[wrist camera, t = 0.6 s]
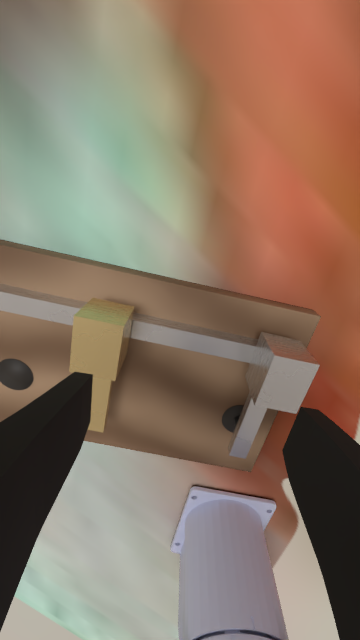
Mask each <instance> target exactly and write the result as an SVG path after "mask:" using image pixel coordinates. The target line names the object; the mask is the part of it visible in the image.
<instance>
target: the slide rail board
mask: <svg viewBox="0 0 360 640" xmlns="http://www.w3.org/2000/svg"><path fill="white" fill-rule="evenodd" d="M0 283H1V284H5V285H10V286H14V287H19V288H24V289H28V290H33V291H38V292H42V293H47V294H51V295H56V296H61V297H65V298H70V299H74V300H79V301H84V302H89V301H90V300H91V299H92V298H97V299H102V300H106V301H111V302H115V303H120V304H125V305H129V306H134V312H135V313H139V314H144V315H148V316H153V317H158V318H162V319H167V320H171V321H176V322H181V323H185V324H190V325H195V326H199V327H204V328H208V329H213V330H218V331H222V332H227V333H232V334H236V335H241V336H245V337H250V338H255V339H259V337H260V334H261V332H263V333H268V334H273V335H277V336H282V337H286V338H291V339H295V340H300V341H301V343H302V344H303V345H304V346H305V348H307V346H308V344H309V342H310V340H311V337H312V335H313V333H314V331H315V328H316V326H317V324H318V322H319V320H320V317H321V316H320V315H318V314H317V313H316V312H315V311H314V310H311V309H307V308H302V307H298V306H293V305H289V304H285V303H280V302H276V301H271V300H267V299H262V298H258V297H253V296H249V295H245V294H240V293H236V292H231V291H227V290H222V289H218V288H213V287H209V286H205V285H200V284H196V283H191V282H187V281H182V280H178V279H173V278H169V277H165V276H160V275H156V274H151V273H147V272H142V271H138V270H134V269H129V268H125V267H120V266H116V265H111V264H107V263H102V262H98V261H94V260H89V259H85V258H80V257H76V256H71V255H67V254H62V253H58V252H54V251H49V250H45V249H40V248H36V247H31V246H27V245H22V244H18V243H14V242H9V241H5V240H0ZM72 330H73V326H72V325H67V324H62V323H57V322H53V321H48V320H43V319H39V318H34V317H29V316H24V315H20V314H15V313H10V312H5V311H1V310H0V422H1V421H3V420H4V419H6V418H8V417H9V416H11V415H12V414H14V413H16V412H17V411H19V410H20V409H22V408H23V407H25V406H26V405H28V404H29V403H31V402H32V401H33V400H35V399H36V398H38V397H39V396H41V395H42V394H44V393H45V392H47V391H48V390H49V389H51V388H52V387H54V386H55V385H56V384H58V383H59V382H61V381H62V380H63V379H65V378H66V377H68V376H69V375H71V374H72V373H71V372H69V368H70V356H71V343H72ZM249 364H250V363H247V362H242V361H237V360H233V359H228V358H223V357H218V356H214V355H209V354H204V353H200V352H195V351H190V350H185V349H181V348H176V347H171V346H166V345H162V344H157V343H152V342H147V341H143V340H138V339H133V338H129V343H128V349H127V355H126V357H125V359H124V362H123V364H122V367H121V369H120V371H119V374H118V376H117V378H116V381H113V384H112V390H111V397H110V403H109V410H108V416H107V423H106V427H105V429H104V432H103V433H102V432H97V431H92V430H87V432H86V435H85V438H84V441H89V442H94V443H99V444H105V445H110V446H115V447H121V448H126V449H131V450H136V451H142V452H147V453H152V454H158V455H163V456H168V457H174V458H179V459H184V460H189V461H195V462H200V463H205V464H211V465H216V466H221V467H227V468H232V469H237V470H242V471H248V472H251V470H252V468H253V466H254V464H255V461H256V459H257V457H258V455H259V453H260V450H261V448H262V446H263V444H264V442H265V439H266V437H267V435H268V433H269V430H270V428H271V426H272V424H273V422H274V419H275V417H276V415H277V413H278V410H275V409H270V408H267V410H266V413H265V415H264V417H263V420H262V422H261V424H260V427H259V429H258V431H257V434H256V436H255V438H254V441H253V443H252V445H251V447H250V450H249V452H248V454H247V457H246V459H244V458H239V457H234V456H229V452H228V446H229V443H230V440H231V438H232V435H233V433H234V430H235V422H234V418H235V417H236V416H240V415H241V412H242V409H243V407H244V404H245V402H246V399H247V397H248V394H249V391H250V390H249V387H248V384H247V381H246V378H245V375H246V372H247V369H248V367H249Z"/></svg>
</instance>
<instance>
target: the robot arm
mask: <svg viewBox="0 0 360 640" xmlns="http://www.w3.org/2000/svg"><path fill="white" fill-rule="evenodd" d="M92 383H93V374H87V373H81V372H74V373H72V374H71V375H69V376H68V377H66V378H65V379H63V380H62V381H61V382H59V383H58V384H56V385H55V386H54V387H52V388H51V389H49V390H48V391H47V392H45V393H44V394H42V395H41V396H39V397H38V398H36V399H35V400H33V401H32V402H31V403H29V404H28V405H26V406H25V407H23V408H22V409H20V410H19V411H17V412H16V413H14V414H12V415H11V416H9V417H8V418H6V419H4V420H3V421H1V422H0V631H1V628H2V626H3V623H4V620H5V618H6V615H7V613H8V610H9V608H10V605H11V602H12V600H13V597H14V595H15V592H16V589H17V587H18V584H19V582H20V579H21V577H22V574H23V572H24V569H25V567H26V564H27V562H28V559H29V557H30V554H31V552H32V549H33V547H34V544H35V542H36V539H37V537H38V535H39V533H40V531H41V528H42V526H43V524H44V522H45V520H46V518H47V516H48V514H49V512H50V510H51V508H52V506H53V504H54V502H55V500H56V498H57V496H58V494H59V492H60V490H61V488H62V486H63V484H64V482H65V480H66V478H67V476H68V474H69V472H70V470H71V468H72V466H73V463H74V461H75V459H76V457H77V455H78V453H79V451H80V449H81V446H82V443H83V441H84V438H85V435H86V432H87V430H88V427H89V424H90V420H91V402H92ZM283 455H284V460H285V465H286V469H287V473H288V478H289V481H290V484H291V487H292V490H293V493H294V496H295V499H296V501H297V504H298V507H299V510H300V513H301V515H302V518H303V521H304V524H305V527H306V529H307V532H308V535H309V538H310V540H311V543H312V546H313V548H314V551H315V554H316V557H317V559H318V563H319V566H320V569H321V572H322V575H323V578H324V582H325V586H326V589H327V593H328V596H329V600H330V604H331V607H332V611H333V614H334V618H335V622H336V626H337V630H338V634H339V638H340V640H360V445H359V444H358V443H357V442H356V441H355V440H353V439H352V438H351V437H350V436H349V435H348V434H347V433H345V432H344V431H343V430H342V429H341V428H340V427H339V426H337V425H336V424H335V423H334V422H333V421H332V420H330V419H329V418H328V417H327V416H325V415H324V414H323V413H322V412H320V411H319V410H316V409H310V408H304V407H301V408H300V410H299V413H298V415H297V417H296V420H295V422H294V424H293V427H292V429H291V431H290V434H289V436H288V438H287V441H286V443H285V445H284V448H283ZM275 509H276V503H275V502H274V501H272V500H268V499H262V498H257V497H252V496H246V495H241V494H235V493H230V492H224V491H219V490H214V489H208V488H203V487H197V486H194V487H192V488H191V489H190V491H189V494H188V497H187V500H186V503H185V506H184V509H183V512H182V514H181V517H180V520H179V523H178V526H177V529H176V532H175V535H174V538H173V541H172V544H171V551H172V552H174V553H179V554H180V576H179V614H178V632H179V640H288V635H287V632H286V627H285V622H284V618H283V614H282V609H281V606H280V601H279V596H278V592H277V587H276V583H275V579H274V574H273V570H272V566H271V561H270V557H269V553H268V548H267V544H266V539H265V535H264V530H265V528H266V526H267V524H268V522H269V521H270V519H271V517H272V515H273V513H274V511H275Z"/></svg>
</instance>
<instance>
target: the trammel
mask: <svg viewBox="0 0 360 640" xmlns="http://www.w3.org/2000/svg"><path fill="white" fill-rule="evenodd" d="M87 303H88V302H84V301H79V300H74V299H70V298H65V297H61V296H56V295H51V294H47V293H42V292H38V291H33V290H28V289H24V288H19V287H14V286H10V285H5V284H1V283H0V310H1V311H5V312H10V313H15V314H20V315H24V316H29V317H34V318H39V319H43V320H48V321H53V322H57V323H62V324H67V325H72V326H73V318H74V315H75V314H76V313H77V312H78V311H79V310H80V309H81V308H82V307H83V306H84V305H85V304H87ZM129 338H133V339H138V340H143V341H147V342H152V343H157V344H162V345H166V346H171V347H176V348H181V349H185V350H190V351H195V352H200V353H204V354H209V355H214V356H218V357H223V358H228V359H233V360H237V361H242V362H247V363H250V364H249V367H248V369H247V372H246V375H245V378H246V381H247V384H248V387H249V390H250V391H249V394H248V397H247V399H246V402H245V404H244V407H243V409H242V412H241V415H240V416H236V417H235V418H234V422H235V430H234V433H233V435H232V438H231V440H230V443H229V446H228V452H229V456H234V457H239V458H244V459H246V457H247V454H248V452H249V450H250V447H251V445H252V443H253V441H254V438H255V436H256V434H257V431H258V429H259V427H260V424H261V422H262V420H263V417H264V415H265V413H266V410H267V408H270V409H275V410H280V411H285V412H290V413H294V414H296V413H297V411H298V409H299V407H300V405H301V403H302V401H303V399H304V397H305V395H306V393H307V391H308V389H309V387H310V385H311V383H312V380H313V378H314V376H315V374H316V372H317V370H318V368H319V366H320V365H319V363H318V362H317V361H316V360H315V359H314V357H313V356H312V355H311V354H310V352H309V351H308V350H307V349H306V348H305V346H304V345H303V344H302V343H301V341H300V340H295V339H291V338H286V337H282V336H277V335H273V334H268V333H263V332H261V334H260V337H259V339H255V338H250V337H245V336H241V335H236V334H232V333H227V332H222V331H218V330H213V329H208V328H204V327H199V326H195V325H190V324H185V323H181V322H176V321H171V320H167V319H162V318H158V317H153V316H148V315H144V314H139V313H135V312H134V313H133V319H132V325H131V331H130V337H129Z"/></svg>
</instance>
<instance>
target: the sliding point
mask: <svg viewBox="0 0 360 640" xmlns="http://www.w3.org/2000/svg"><path fill="white" fill-rule="evenodd" d="M133 313H134V306H129V305H125V304H120V303H115V302H111V301H106V300H102V299H97V298H92V299H91V300H90V301H89V302H88V303H87V304H85V305H84V306H83V307H82V308H81V309H80V310H79V311H78V312H77V313H76V314H75V315H74V318H73V330H72V343H71V356H70V368H69V372H71V373H74V372H81V373H87V374H93V383H92V402H91V420H90V424H89V427H88V430H92V431H97V432H102V433H103V432H104V429H105V427H106V423H107V416H108V410H109V403H110V397H111V390H112V384H113V381H116V378H117V376H118V374H119V371H120V369H121V367H122V364H123V362H124V359H125V357H126V355H127V349H128V343H129V337H130V331H131V325H132V319H133Z"/></svg>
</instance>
